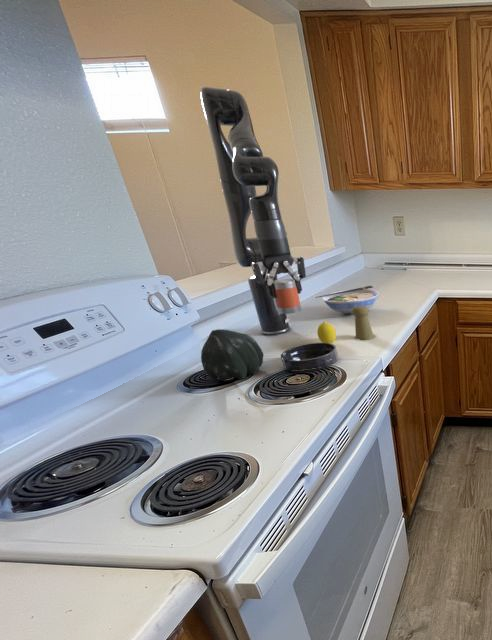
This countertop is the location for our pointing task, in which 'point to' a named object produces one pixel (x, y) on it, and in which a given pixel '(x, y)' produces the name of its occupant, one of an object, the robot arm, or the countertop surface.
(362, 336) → the olive flared column
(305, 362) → the pan
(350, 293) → the ramen bowl
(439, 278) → the countertop surface
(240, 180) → the robot arm
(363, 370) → the countertop surface
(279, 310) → the can
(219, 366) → the squash
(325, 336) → the lemon
